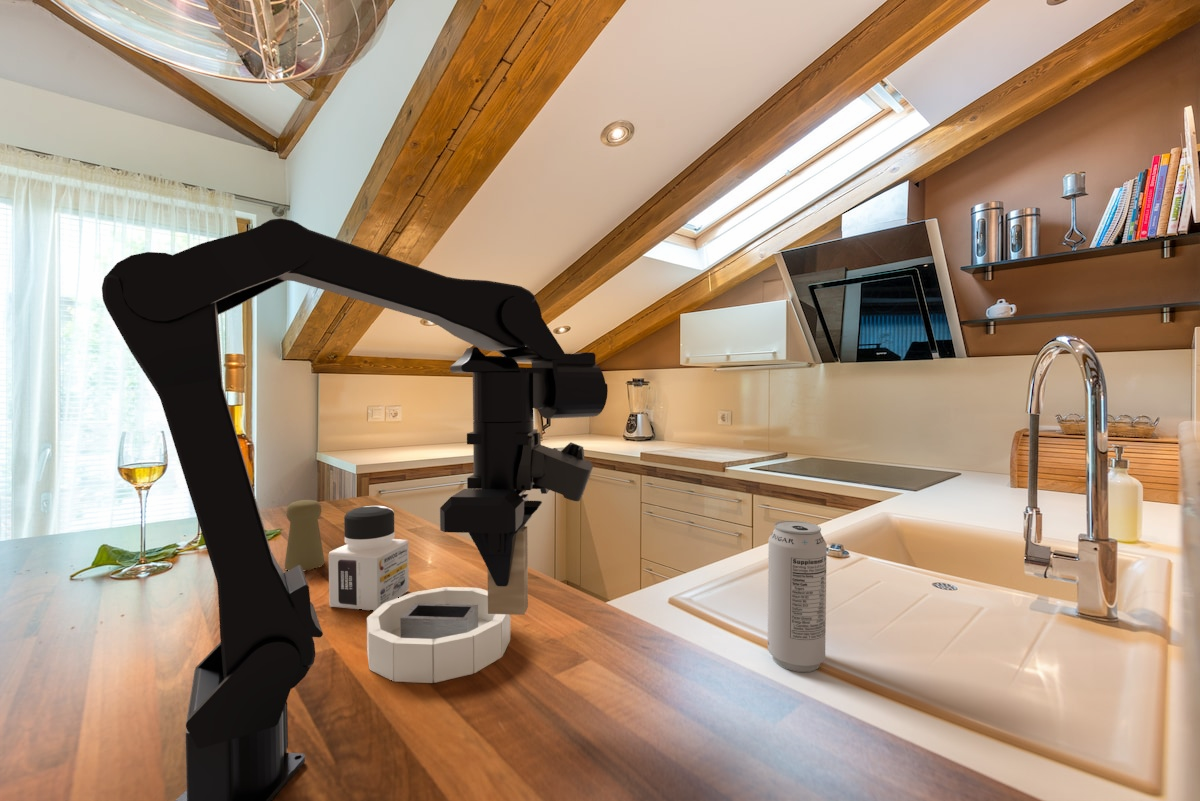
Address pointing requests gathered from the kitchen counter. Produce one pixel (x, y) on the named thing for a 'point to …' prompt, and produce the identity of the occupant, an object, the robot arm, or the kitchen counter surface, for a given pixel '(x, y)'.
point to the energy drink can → (797, 595)
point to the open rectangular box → (438, 620)
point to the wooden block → (512, 582)
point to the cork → (304, 535)
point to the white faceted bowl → (434, 655)
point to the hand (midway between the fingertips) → (504, 581)
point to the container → (368, 561)
